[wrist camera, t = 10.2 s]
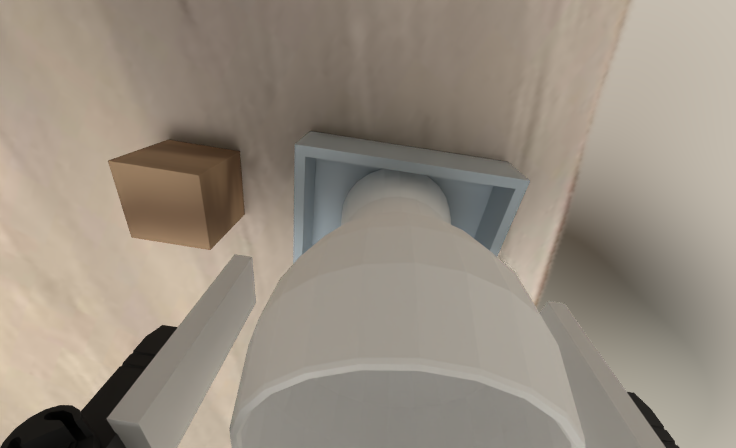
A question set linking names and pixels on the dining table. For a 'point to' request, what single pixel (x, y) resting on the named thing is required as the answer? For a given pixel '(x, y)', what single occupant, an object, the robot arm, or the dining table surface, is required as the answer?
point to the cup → (402, 339)
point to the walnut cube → (180, 192)
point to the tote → (361, 157)
